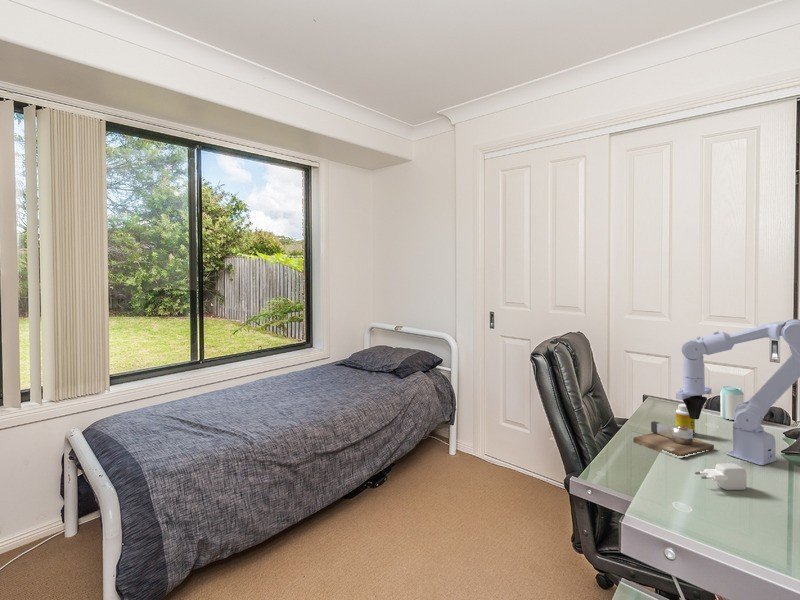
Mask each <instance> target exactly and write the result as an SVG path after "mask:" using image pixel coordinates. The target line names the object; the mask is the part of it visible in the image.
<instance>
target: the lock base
mask: <svg viewBox="0 0 800 600" xmlns="http://www.w3.org/2000/svg"><path fill="white" fill-rule="evenodd" d="M632 439H633V440H632V441H633V443H635V444H638V445H640V446H643V447H646V448H649V449H651V450H655V451H657V452H660V451H662V450H664V451H667V452H669V453H672V454H675V455H677V456H685V455H688V454H693V453H697V452H702V451H706V450H711V451H713V450H712V449H714V450H715V445H714V444H711V443H709V442H705V441H702V440H699V439H697V438H693V443H692V444H680V443H676V442H674V441H673V440H672V438H669V437H666V436H663V435H660V434H656V433H653V432H651V433H647V434H642V435H639V436H635V437H633V438H632ZM660 453H661V452H660Z"/></svg>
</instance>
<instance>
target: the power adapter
mask: <svg viewBox="0 0 800 600" xmlns="http://www.w3.org/2000/svg"><path fill="white" fill-rule="evenodd" d="M694 475H696V476H697V475H699V476H700V475H701V476H700V478H701V480H711V481H713V482H714V483H715V484H716V485H717V486H718V485H719V486H718V487H720V488H721V489H723V490H725V491H738V490H739V491H743V490H746V489H747V485H748V483H747V482H748V481H747V470H746V468H745V467H743V466H741V465H740V464H737V463H735V462H733V463H730V462H728V463H727V462H726V463H716V464H715V467H714V468H704V470H703V471H695V472H694Z"/></svg>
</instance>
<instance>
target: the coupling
mask: <svg viewBox="0 0 800 600" xmlns="http://www.w3.org/2000/svg"><path fill="white" fill-rule="evenodd" d="M650 427H651V429H650V430H651V433H656V434H660V435H663V436H666V437H669V438H672V440H673V441H674V442H676V443H680V444H692V443H693V439H694V438H693V437H694V435H693V429H691V428H689V427H687V426H683V425H677V426H676V425H672V426H670V425H667V424H664V423H661V422H658V421H655V420H654V421H650Z"/></svg>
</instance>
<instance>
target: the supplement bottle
mask: <svg viewBox="0 0 800 600" xmlns="http://www.w3.org/2000/svg"><path fill="white" fill-rule="evenodd" d="M677 406H678V407H677V408H678V409H676V410H675V426H677V425H683V426H687V427H689V428H691V429H693V434H694V435H695V433H696V432H695V431H696V422H695V421H696V419H692V418H690V416H689V413H688V410H687V407H686V405H685V403H679V404H678V405H677Z"/></svg>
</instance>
